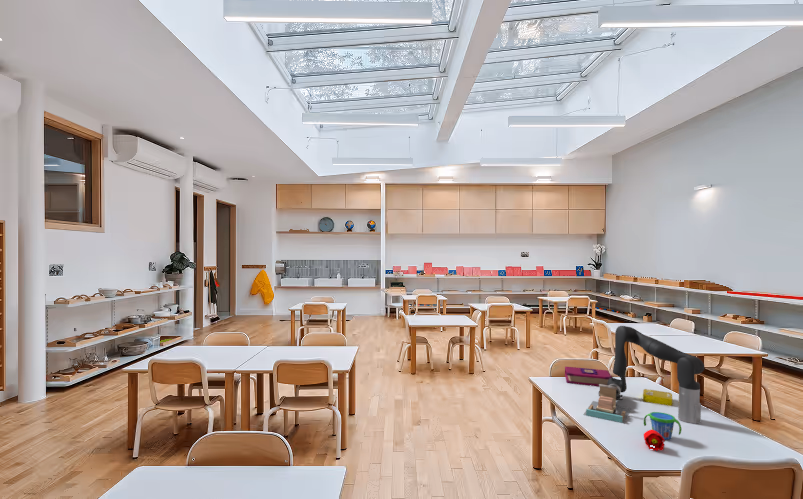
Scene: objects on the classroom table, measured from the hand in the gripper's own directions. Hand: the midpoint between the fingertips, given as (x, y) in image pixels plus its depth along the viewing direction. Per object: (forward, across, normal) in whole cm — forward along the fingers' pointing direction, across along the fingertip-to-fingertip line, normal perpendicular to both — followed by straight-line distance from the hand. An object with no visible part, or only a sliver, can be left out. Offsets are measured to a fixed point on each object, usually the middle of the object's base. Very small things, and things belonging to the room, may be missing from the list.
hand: (608, 399), depth 243 cm
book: (-58, -21, +8) cm, 62 cm away
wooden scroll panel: (+6, 0, +6) cm, 9 cm away
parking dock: (0, 0, +7) cm, 7 cm away
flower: (+36, +24, +7) cm, 44 cm away
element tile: (-42, +21, +8) cm, 47 cm away
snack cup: (+20, +26, +7) cm, 34 cm away
